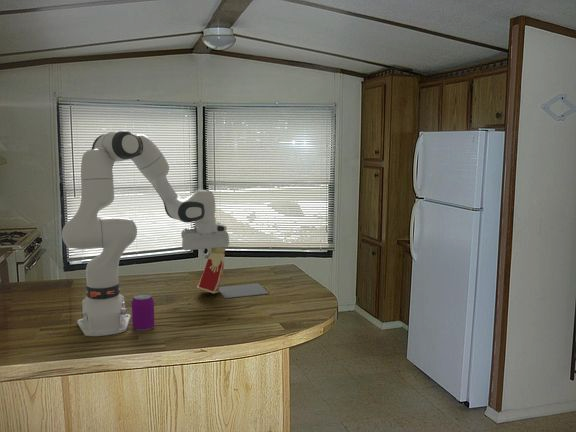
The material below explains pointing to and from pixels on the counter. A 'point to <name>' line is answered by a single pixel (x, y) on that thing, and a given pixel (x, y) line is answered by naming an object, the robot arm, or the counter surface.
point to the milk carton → (213, 271)
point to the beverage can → (143, 312)
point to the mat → (242, 290)
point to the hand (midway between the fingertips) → (206, 258)
